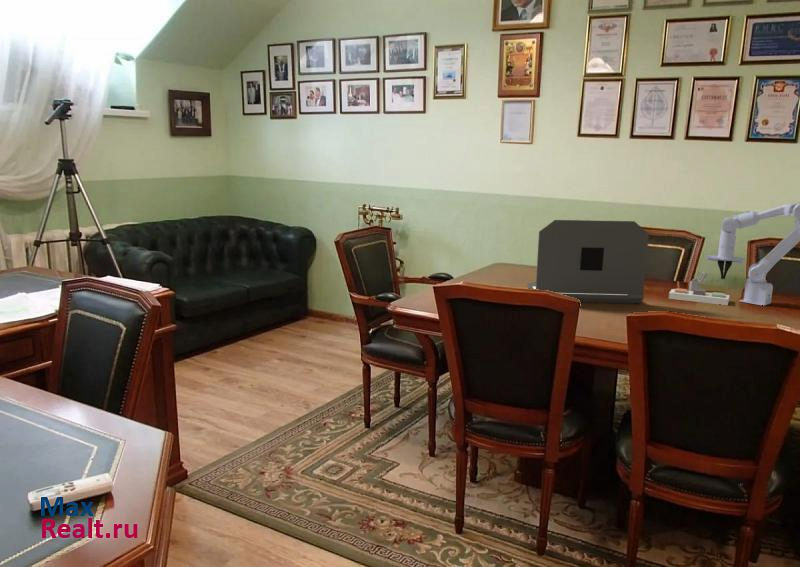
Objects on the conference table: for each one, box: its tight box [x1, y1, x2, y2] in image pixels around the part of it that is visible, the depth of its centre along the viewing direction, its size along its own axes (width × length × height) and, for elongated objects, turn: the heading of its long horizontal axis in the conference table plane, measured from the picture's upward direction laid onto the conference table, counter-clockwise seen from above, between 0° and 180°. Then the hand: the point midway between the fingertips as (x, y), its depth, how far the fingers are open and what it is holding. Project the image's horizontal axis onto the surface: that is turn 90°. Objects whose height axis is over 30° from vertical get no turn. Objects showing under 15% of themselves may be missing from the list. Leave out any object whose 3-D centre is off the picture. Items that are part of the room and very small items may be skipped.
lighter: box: [688, 272, 708, 291], centre depth 273 cm, size 7×2×8 cm, turn 100°
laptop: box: [525, 219, 650, 304], centre depth 260 cm, size 43×31×34 cm
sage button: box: [711, 291, 725, 298], centre depth 252 cm, size 4×4×3 cm
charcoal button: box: [693, 288, 707, 296], centre depth 256 cm, size 4×4×3 cm
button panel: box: [668, 288, 730, 306], centre depth 256 cm, size 22×9×2 cm, turn 60°
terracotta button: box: [674, 288, 688, 294], centre depth 259 cm, size 4×4×3 cm
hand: (722, 278), depth 257 cm, fingers closed
